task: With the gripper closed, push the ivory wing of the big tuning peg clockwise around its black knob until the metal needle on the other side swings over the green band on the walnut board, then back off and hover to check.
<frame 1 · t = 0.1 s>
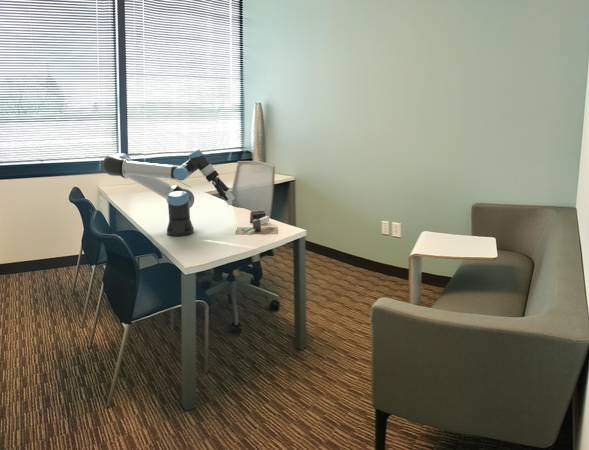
hand: (232, 201, 290), 15 cm above the table, tool tilted 35°, fingers open, 13 cm apart
board: (257, 232, 280), on the table
electrical switch: (258, 224, 300), on the table
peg: (258, 224, 280), point 5 cm above the table, hinge at 60.0°
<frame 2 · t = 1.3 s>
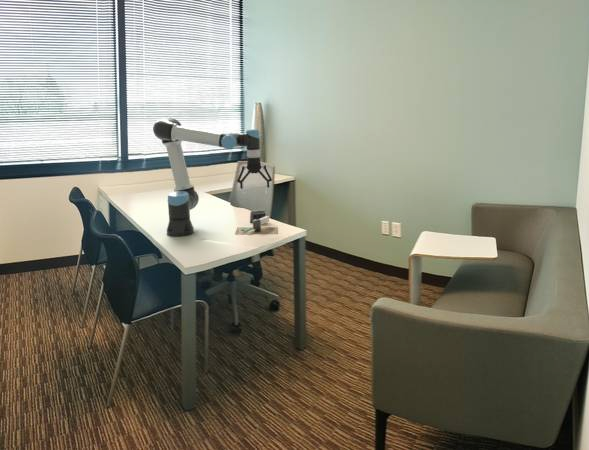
hand: (255, 193, 283), 21 cm above the table, tool pointing down, fingers open, 13 cm apart
nothing on the table moved.
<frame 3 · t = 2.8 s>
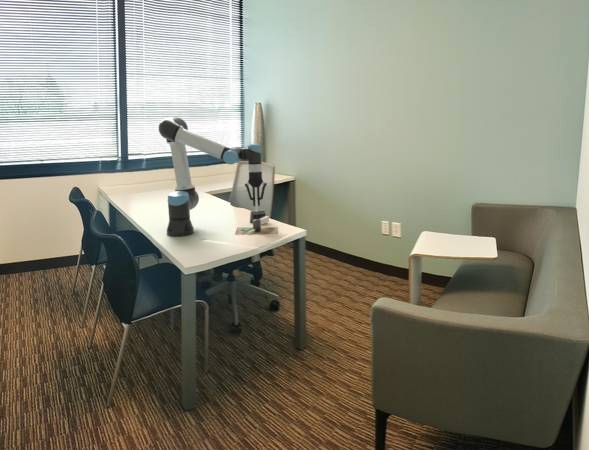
hand: (256, 211, 285), 11 cm above the table, tool pointing down, fingers closed
nothing on the table moved.
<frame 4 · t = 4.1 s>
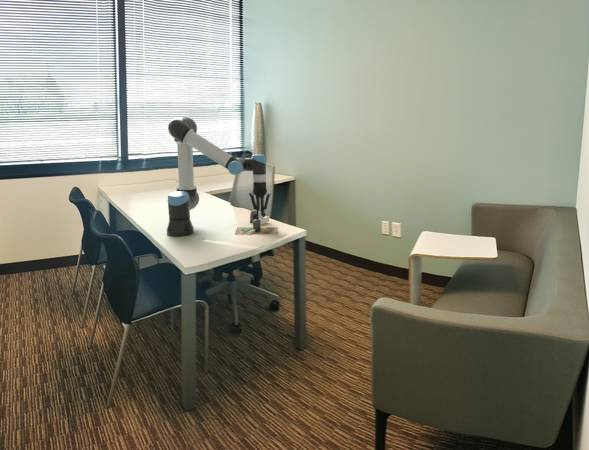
hand: (260, 221, 286), 5 cm above the table, tool pointing down, fingers closed
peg: (258, 224, 280), point 5 cm above the table, hinge at 60.0°, touching gripper
everything else where it was.
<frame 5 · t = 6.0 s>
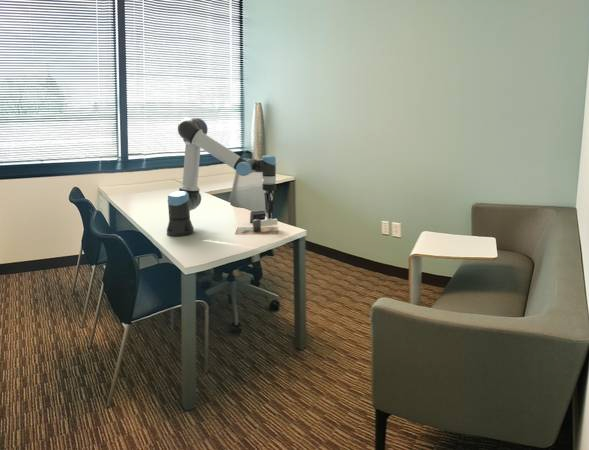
hand: (269, 223, 283), 5 cm above the table, tool pointing down, fingers closed
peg: (259, 224, 280), point 5 cm above the table, hinge at 15.8°, touching gripper
everything else where it was.
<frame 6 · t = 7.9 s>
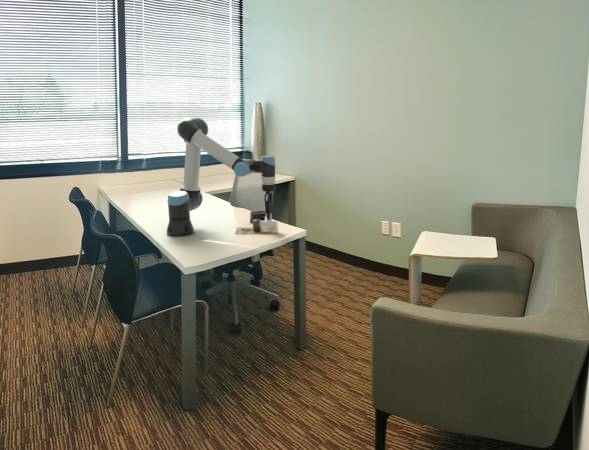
hand: (269, 224, 280), 5 cm above the table, tool pointing down, fingers closed
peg: (258, 225, 279), point 5 cm above the table, hinge at -16.6°
everything else where it was.
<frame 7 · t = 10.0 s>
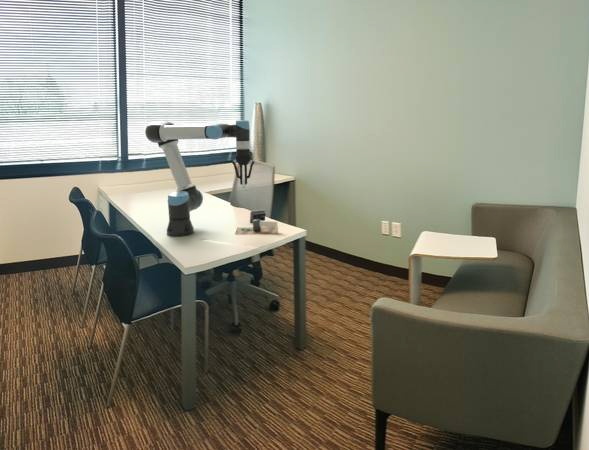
hand: (243, 190, 277), 24 cm above the table, tool pointing down, fingers closed
nothing on the table moved.
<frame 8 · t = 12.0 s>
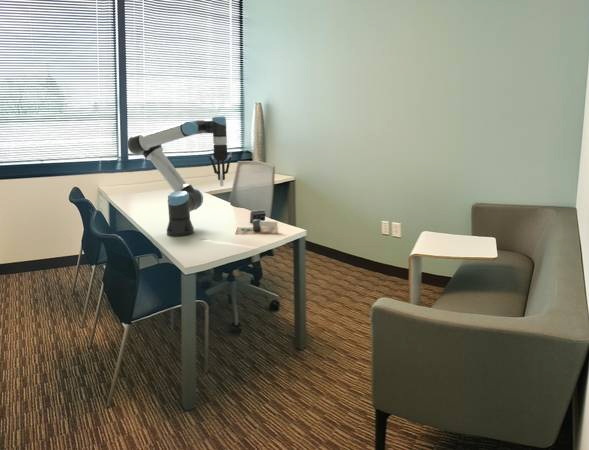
hand: (221, 185, 280), 26 cm above the table, tool pointing down, fingers closed
nothing on the table moved.
at the end: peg at -17° (first picture: +60°); the gripper is holding nothing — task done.
